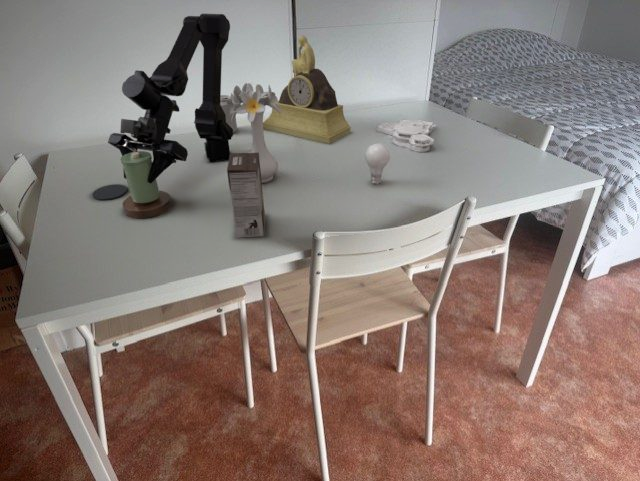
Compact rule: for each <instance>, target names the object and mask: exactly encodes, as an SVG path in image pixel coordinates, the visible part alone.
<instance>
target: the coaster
mask: <svg viewBox="0 0 640 481" xmlns="http://www.w3.org/2000/svg"><path fill="white" fill-rule="evenodd" d="M127 192H128V187H127V186H125V185H123V184H108V185H104V186H100V187H99V188H96V189H95V190H94V191H93V192H92V198H93V199H94V200H97V201H111V200H115V199H119V198H120V197H122V196H125V194H127Z"/></svg>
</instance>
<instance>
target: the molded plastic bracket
mask: <svg viewBox="0 0 640 481" xmlns="http://www.w3.org/2000/svg"><path fill="white" fill-rule="evenodd" d="M436 129H437V124H435V122H431V121H426V120H420V119H418V120H409V119H402V120H398V121H396V122H395V123H391V122H385V121H384V122H383V123H381V124H379V125H378V126H377V127H376V130H375V131H376V132H379V133H382V134H386V135H389V136H392V143H393V144H395V145H396V146H399V147H402V148H406V149H409V150H412V151H414V152H418V153H424V152H425V153H426V152H428V151H430V147H431V145H433V144H434V143H435V139H434V138H433V137H431V136H430V135H429V134H430V133H432V132H433V131H434V130H436Z"/></svg>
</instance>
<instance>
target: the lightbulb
mask: <svg viewBox="0 0 640 481" xmlns="http://www.w3.org/2000/svg"><path fill="white" fill-rule="evenodd" d="M390 159H391V153H390V150H389V148H388V146H386V145H385V144H384V143H379V142H377V143H372V144H371V145H369V146H368V147H367V148H366V151H365V153H364V160H365V162H366V165H367V166H368V167H369V171H370V182H371V183H372V184H374V185H379V184H380V183H382V175H383V172H384V169H385V167H386V166H387V164H389V161H390Z"/></svg>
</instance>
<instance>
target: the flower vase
mask: <svg viewBox="0 0 640 481" xmlns="http://www.w3.org/2000/svg"><path fill="white" fill-rule="evenodd" d="M267 89H268V90H267V91H264V88H263V86H262V85H261V84H259V83H257V84H256V85H255V91H254V87H253V85H252V84H251V83H249V82H248V83H247V82H245V83H244V84H243V86H242V88H240V86H239V85H235V86H234V88H233V93H232V92H231V93H230V96H231V99H229V100H228V101H227V104H234V105H233V106H232V107H231V108H230V115H231V114H233V115H232V120H231V122H232V121H233V119H234V117H235V115H236V116H237V115H244V114H247V115H246V116H247V121H248V123H250V127H251V139H252V140H251V142H252V148H251V150H250V151H251V152H250V153H258V152H259V161H260V171H261V181H262V184H264V183H268V182H271V181H272V180H273V179H274V176H275V175H276V173H277V172H278V170H279V164H278V161H277V159H275V157H274V156H272V155H271V154H270V152H269V150H268V148H267V146H266V140H265V134H264V129H263V122H264V114H265V111H266V110H267V109H266V106H268V107H269V108H273V109H275V110H276V111H278V112H280V113H281V114H282V111H281V110H280V108H279V107H278V106H277V105H274V104H277V102H278V101H279V100H278V96H276V93H275V91H272V88H271V86H270V84H268V88H267Z"/></svg>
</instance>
